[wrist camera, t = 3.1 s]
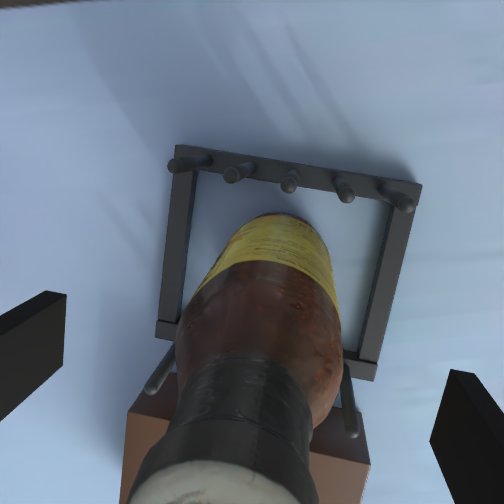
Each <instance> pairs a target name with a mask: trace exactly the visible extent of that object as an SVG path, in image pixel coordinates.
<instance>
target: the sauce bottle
mask: <svg viewBox="0 0 504 504" xmlns="http://www.w3.org/2000/svg"><path fill="white" fill-rule="evenodd" d="M175 360H176V367H177V380H178V394H179V398H178V401H177V408H176V411H175V413H174V415H173V417H172V419H171V422H170V423H169V425H168V428H167V430H166V434H165V435H164V436H163V437H162V438H161V439H160V440H159V441H158V442H157V443H156V444H155V445H154V446H152V447H151V448H150V450H149V451H148V453H147V454H146V456H145V457H144V459H143V461H142V463H141V465H140V467H139V470H138V474H137V476H136V477H135V480H134V483H133V485H132V487H131V489H130V492H129V495H128V498H127V502H126V504H319V497H318V493H317V490H316V485H315V483H314V480H313V478H312V476H311V474H310V471H309V465H310V463H309V443H310V441H311V440H312V435H313V429H314V428H315V427H317V426H318V425H319V424H320V423H321V422H323V421H324V419H325V418H326V417H327V416H328V413H329V412H330V410H331V407H332V405H333V403H334V401H335V399H336V397H337V394H338V392H339V387H340V384H341V380H342V374H343V364H344V363H343V347H342V344H341V323H340V316H339V309H338V303H337V297H336V291H335V285H334V279H333V272H332V266H331V261H330V256H329V253H328V250H327V247H326V245H325V243H324V242H323V240H322V239H321V237H320V236H319V234H318V233H317V232H316V231H315V230H314V229H313V228H312V227H311V225H309V224H308V222H306V221H305V220H303V219H301V218H300V217H295V216H292V215H288V214H280V213H268V214H265V215H262V216H258V217H256V218H255V219H254V220H252V221H250V222H248V223H246V224H245V225H243V226H242V227H241V228H240V229H239V230H238V231H237V232H236V233H235V234H234V235H233V236H232V237H231V239H230V241H229V242H228V244H227V245H226V247H225V248H224V250H223V252H222V253H221V255H220V256H219V257H218V258H217V260H216V262H215V264H214V265H213V267H212V268H211V269H210V271H209V272H208V274H207V275H206V277H205V278H204V280H203V282H202V283H201V285H200V286H199V287H198V289H197V291H196V292H195V294H194V295H193V297H192V298H191V300H190V302H189V303H188V305H187V306H186V308H185V310H184V312H183V314H182V316H181V318H180V321H179V324H178V328H177V331H176V337H175Z"/></svg>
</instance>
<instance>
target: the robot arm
mask: <svg viewBox="0 0 504 504" xmlns="http://www.w3.org/2000/svg"><path fill="white" fill-rule="evenodd" d="M66 298H67V294H62V293H57V292H52V291H44V292H42V293H40V294H38V295H37V296H35V297H33V298H31V299H29V300H28V301H26V302H24V303H22V304H20V305H19V306H17V307H15V308H13V309H11V310H10V311H8V312H6V313H4V314H2V315H0V421H2V420H3V419H4V418H5V417H6V416H7V415H8V414H9V413H10V412H12V411H13V410H14V409H15V408H16V407H17V406H18V405H19V404H20V403H22V402H23V401H24V400H25V399H26V398H27V397H28V396H29V395H30V394H32V393H33V392H34V391H35V390H36V389H37V388H38V387H39V386H40V385H42V384H43V383H44V382H45V381H46V380H47V379H48V378H49V377H51V376H52V375H53V374H54V373H55V372H56V371H57V370H58V369H59V368H61V367H62V366H63V352H64V334H65V316H66ZM429 442H430V444H431V447H432V449H433V452H434V454H435V457H436V459H437V461H438V464H439V466H440V469H441V471H442V474H443V476H444V478H445V481H446V483H447V486H448V488H449V491H450V493H451V495H452V498H453V500H454V503H455V504H504V413H503V412H502V410H501V409H500V408H499V406H498V405H497V404H496V402H495V401H494V399H493V398H492V397H491V395H490V394H489V393H488V391H487V390H486V389H485V387H484V386H483V384H482V383H481V382H480V380H479V379H478V378H477V376H476V375H475V374H474V373H469V372H464V371H459V370H454V369H450V372H449V376H448V379H447V383H446V386H445V389H444V393H443V396H442V400H441V403H440V407H439V410H438V413H437V417H436V420H435V424H434V427H433V431H432V434H431V437H430V441H429Z"/></svg>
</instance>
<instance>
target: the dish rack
mask: <svg viewBox="0 0 504 504" xmlns="http://www.w3.org/2000/svg"><path fill="white" fill-rule="evenodd" d="M167 167H168V170H169V171H170V172H171V173H172V174H173V180H172V190H171V199H170V208H169V218H168V227H167V236H166V245H165V255H164V264H163V273H162V283H161V292H160V301H159V311H158V320H157V322H156V331H155V337H156V338H160V339H165V340H170V341H175V337H176V331H177V328H178V324H179V321H180V318H179V317H180V311H181V302H182V294H183V286H184V278H185V269H186V261H187V253H188V244H189V236H190V228H191V220H192V211H193V203H194V195H195V186H196V178H197V170H204V171H210V172H216V173H221V174H223V177H224V180H225V181H226V182H227V183H230V184H233V183H236V182H238V181H240V180H241V179H243V178H251V179H257V180H263V181H269V182H275V183H281V184H280V187H281V189H282V191H283V192H285V193H292V192H294V191H295V189H296V187H297V186H299V187H305V188H311V189H317V190H323V191H329V192H335V193H337V195H338V197H339V199H340V200H341V201H342V202H343V203H350V202H352V201H353V200H354V199H355V196H359V197H365V198H371V199H377V200H383V201H388V202H390V203H391V208H390V212H389V216H388V221H387V225H386V229H385V234H384V238H383V242H382V246H381V251H380V255H379V259H378V263H377V268H376V272H375V276H374V281H373V285H372V289H371V293H370V298H369V302H368V306H367V311H366V315H365V319H364V323H363V328H362V332H361V336H360V340H359V345H358V349H357V353H355V352H350V351H345V350H343V363H344V364H343V374H342V380H341V384H340V394H341V403H342V412H343V420H344V429H345V434H346V435H347V436H348V437H349V438H356V437H357V436H358V435H359V432H360V430H359V424H358V418H357V412H356V406H355V400H354V394H353V388H352V382H351V377H352V378H357V379H362V380H367V381H372V382H373V381H374V378H375V374H376V370H377V366H378V365H377V362H378V359H379V355H380V351H381V347H382V343H383V339H384V335H385V331H386V327H387V323H388V319H389V315H390V311H391V307H392V303H393V299H394V294H395V290H396V286H397V282H398V278H399V274H400V270H401V266H402V262H403V258H404V254H405V250H406V246H407V242H408V238H409V234H410V230H411V226H412V222H413V218H414V214H415V210H416V206H417V205H418V202H419V198H420V194H421V190H422V185H421V184H419V183H415V182H409V181H402V180H396V179H390V178H384V177H378V176H372V175H366V174H360V173H353V172H347V171H341V170H335V169H329V168H323V167H317V166H311V165H304V164H298V163H292V162H286V161H280V160H274V159H268V158H261V157H255V156H249V155H243V154H237V153H231V152H225V151H219V150H212V149H206V148H200V147H194V146H188V145H182V144H181V145H175V153H174V158H172V159H171V160H169V162H168V165H167ZM175 362H176V360H175V342H174V343H173V345H172V346H171V348H170V349H169V351H168V352H167V354H166V355H165V357H164V358H163V359H162V361H161V362H160V364H159V365H158V367H157V368H156V370H155V371H154V372H153V374H152V375H151V377H150V378H149V380H148V381H147V383H146V384H145V387H144V390H145V392H146V393H147V394H148V395H154V394H156V393H157V391H158V390H159V388H160V387H161V385H162V383H163V382H164V380H165V379H166V377H167V375H168V374H169V372H170V370H171V369H172V367H173V366H174V364H175Z"/></svg>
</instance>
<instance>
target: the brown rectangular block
mask: <svg viewBox="0 0 504 504" xmlns="http://www.w3.org/2000/svg"><path fill="white" fill-rule="evenodd" d="M178 398H179V394H178V380H177V374H174V373H170V372H169V374H168V375H167V377H166V379H165V380H164V382H163V383H162V385H161V387H160V388H159V390H158V391H157V393H156V394H154V395H148V394H147V393H146V392H145V390H144V389H143V390H142V392H141V393H140V394H139V396H138V397H137V399H136V400H135V402H134V403H133V405H132V406H131V408H130V409H129V411H128V414H127V425H126V435H125V446H124V456H123V467H122V478H121V488H120V499H119V504H126V502H127V498H128V495H129V492H130V489H131V487H132V485H133V483H134V480H135V477H136V476H137V474H138V470H139V467H140V465H141V463H142V461H143V459H144V457H145V456H146V454H147V453H148V451H149V450H150V448H151V447H152V446H154V445H155V444H156V443H157V442H158V441H159V440H160V439H161V438H162V437H163V436H164V435H165V434H166V430H167V428H168V425H169V423H170V422H171V419H172V417H173V415H174V413H175V411H176V408H177V401H178ZM357 418H358V424H359V430H360V432H359V435H358V436H357V437H356V438H349V437H348V436H347V435H346V434H345V429H344V420H343V412H342V408H337V407H331V410H330V412H329V413H328V416H327V417H326V418H325V419H324V421H323V422H321V423H320V424H319V425H318V426H317V427H315V428H314V429H313V435H312V440H311V441H310V443H309V463H310V465H309V471H310V474H311V476H312V478H313V480H314V483H315V485H316V490H317V493H318V497H319V504H361V501H362V497H363V493H364V489H365V485H366V482H367V478H368V474H369V470H370V466H371V463H370V458H369V452H368V447H367V441H366V436H365V430H364V425H363V419H362V414H361V412H357Z"/></svg>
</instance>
